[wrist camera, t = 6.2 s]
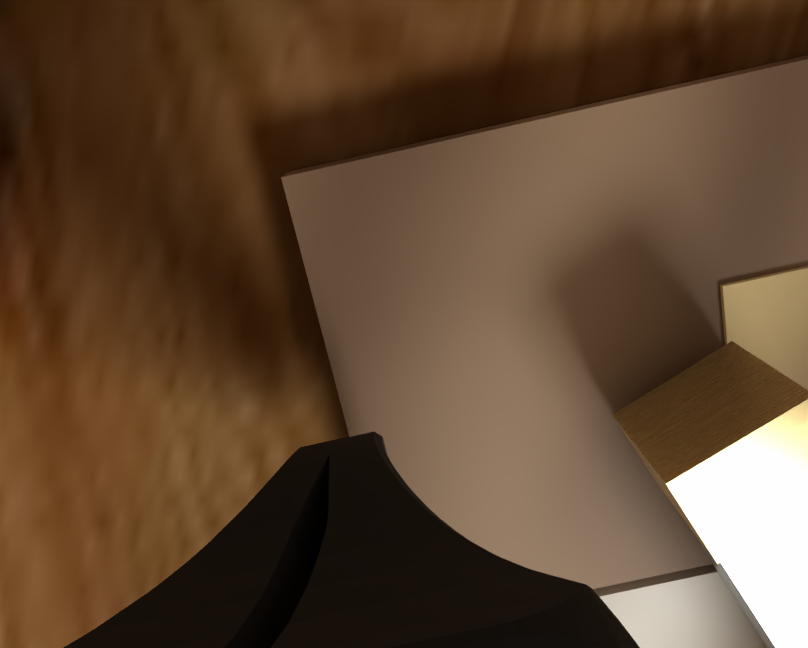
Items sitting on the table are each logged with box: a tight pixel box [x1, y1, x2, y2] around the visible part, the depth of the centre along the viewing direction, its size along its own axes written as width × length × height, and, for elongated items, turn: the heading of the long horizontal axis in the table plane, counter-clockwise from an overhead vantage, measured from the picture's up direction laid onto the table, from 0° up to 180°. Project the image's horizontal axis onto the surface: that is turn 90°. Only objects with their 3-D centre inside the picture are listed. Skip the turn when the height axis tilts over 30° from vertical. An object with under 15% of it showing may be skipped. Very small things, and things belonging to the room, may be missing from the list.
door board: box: [281, 55, 808, 648], centre depth 13 cm, size 15×17×3 cm
